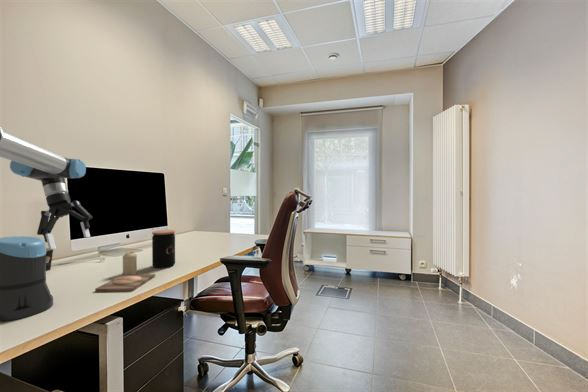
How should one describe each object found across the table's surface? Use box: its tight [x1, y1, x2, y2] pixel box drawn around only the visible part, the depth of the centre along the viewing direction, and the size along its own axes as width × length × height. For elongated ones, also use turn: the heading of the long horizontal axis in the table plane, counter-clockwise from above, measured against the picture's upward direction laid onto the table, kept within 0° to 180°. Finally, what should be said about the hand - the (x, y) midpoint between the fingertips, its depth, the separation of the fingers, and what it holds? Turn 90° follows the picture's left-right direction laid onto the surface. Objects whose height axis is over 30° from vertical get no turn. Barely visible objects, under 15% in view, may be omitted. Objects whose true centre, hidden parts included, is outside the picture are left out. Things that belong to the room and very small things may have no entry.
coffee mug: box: [45, 247, 54, 272], centre depth 129 cm, size 12×9×10 cm
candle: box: [122, 251, 138, 275], centre depth 125 cm, size 6×6×10 cm
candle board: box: [94, 273, 156, 293], centre depth 111 cm, size 18×14×2 cm
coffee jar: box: [151, 229, 176, 269], centre depth 138 cm, size 11×11×18 cm
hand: (70, 243), depth 110 cm, fingers open, 13 cm apart
